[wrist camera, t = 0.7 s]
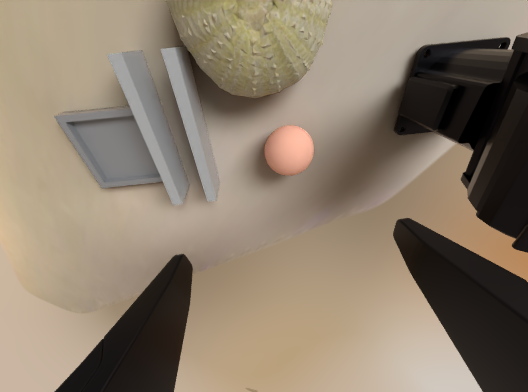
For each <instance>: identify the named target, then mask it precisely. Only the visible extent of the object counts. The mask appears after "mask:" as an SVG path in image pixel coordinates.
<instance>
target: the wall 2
mask: <svg viewBox="0 0 528 392" xmlns="http://www.w3.org/2000/svg"><path fill="white" fill-rule="evenodd" d="M161 52H162V55H163V58H164V62H165V65H166V68H167V72H168V75H169V78H170V81H171V85H172V88H173V91H174V94H175V98H176V101H177V104H178V107H179V111H180V114H181V117H182V120H183V124H184V127H185V130H186V133H187V137H188V140H189V143H190V146H191V150H192V153H193V156H194V159H195V163H196V166H197V169H198V172H199V176H200V179H201V182H202V185H203V189H204V192H205V195H206V199H207V202H208V201H217V195H218V189H219V183H220V181H219V177H218V173H217V169H216V165H215V161H214V157H213V152H212V148H211V144H210V140H209V136H208V132H207V128H206V124H205V120H204V116H203V112H202V107H201V103H200V99H199V95H198V91H197V87H196V83H195V79H194V75H193V71H192V67H191V62H190V58H189V54H188V50H187V47H186V46H184V47H174V48H165V49H161Z"/></svg>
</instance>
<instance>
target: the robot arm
mask: <svg viewBox="0 0 528 392" xmlns="http://www.w3.org/2000/svg"><path fill="white" fill-rule="evenodd" d="M500 44H501V46H500ZM509 45H510V38H492V39H482V40H472V41H461V42H451V43H441V44H431V45H425V46H423V47H421V48H420V49H419V51H418V53H417V55H416V58H415V62H414V65H413V68H412V72H411V75H410V78H409V80H408V83H407V86H406V90H405V93H404V96H403V100H402V103H401V106H400V110H399V115H398V118H397V122H396V125H395V128H394V131H395V133H397V134H398V135H406V134H415V133H425V132H435V133H437V134H439V135H441V136H443V137H445V138H447V139H449V140H451V141H453V142H455V143H457V144H460V145H462V146H464V147H466V148H468V149H470V150H472V151H473V154H472V157H471V159H470V162H469V164H468V167H467V169H466V172H464V173H463V175H462V177H461V181H462V183H463V184H464V185H465V187H466V188H467V191H468V199H469V201H470V202H471V204H472V205H473V206H474V208H475V209H476V210H477V213H476V216H477V217H478V218H479V219H481V220H482V221H483V222H485V223H486V224H488V225H489V226H491V227H493V228H494V229H496V230H498V231H500V232H502V233H504V234H505V235H508V236H510V237H513V238H515V239H516V240H515V241H514V242H513V244H512V247H513V248H514V249H516V250H520V251H524V252H528V33H524V34H521V35H518V36H516V39H515V41H514V44H513V46H512V49H513V50H507V49H508V47H509ZM499 46H500V47H499ZM426 50H427V54H426V56H425V57H424V53H425V51H426ZM401 127H403V128H402V129H401V130H400V128H401ZM393 236H394V239H395V241H396V243H397V246H398V248H399V249H400V252H401V254H402V256H403V258H404V261H405V263H406V265H407V267H408V269H409V271H410V273H411V275H412V276H413V278H414V280H415V281H416V283H417V285H418V286H419V288H420V289H421V291H422V293H423V294H424V296H425V298H426V299H427V301H428V303H429V304H430V306H431V308H432V309H433V311H434V312H435V314H436V316H437V317H438V319H439V321H440V322H441V324H442V325H443V327H444V329H445V330H446V332H447V334H448V335H449V337H450V339H451V340H452V342H453V343H454V345H455V347H456V348H457V350H458V352H459V353H460V355H461V357H462V358H463V360H464V361H465V363H466V365H467V366H468V368H469V370H470V371H471V373H472V375H473V376H474V378H475V379H476V381H477V383H478V384H479V386H480V388H481V389H482V391H483V392H528V282H527V281H526V280H524V279H523V278H521V277H519V276H517V275H515V274H513V273H511V272H509V271H508V270H506V269H504V268H502V267H500V266H498V265H496V264H494V263H493V262H491V261H489V260H487V259H485V258H483V257H481V256H479V255H478V254H476V253H474V252H472V251H470V250H468V249H466V248H464V247H462V246H460V245H459V244H457V243H455V242H453V241H451V240H449V239H448V238H446V237H444V236H442V235H440V234H438V233H436V232H434V231H432V230H431V229H429V228H427V227H425V226H423V225H421V224H419V223H418V222H416V221H414V220H412V219H410V218H404V219H399V220H397V222H396V225H395V228H394V232H393ZM192 271H193V268H192V264H191V263H190V261H189V260H188V258H187V257H186V255H184V254H179V255H175V256H174V257H173V258H172V259H171V260H170V261H169V262H168V263H167V265H166V266H165V267H164V268H163V269H162V270H161V272H160V273H159V274H158V275H157V276H156V277H155V278H154V280H153V281H152V282H151V283H150V284H149V285H148V287H147V288H146V289H145V290H144V291H143V292H142V294H141V295H140V296H139V297H138V298H137V299H136V301H135V302H134V303H133V304H132V305H131V306H130V308H129V309H128V310H127V311H126V312H125V313H124V315H123V316H122V317H121V318H120V319H119V320H118V322H117V323H116V324H115V325H114V326H113V327H112V328H111V330H110V331H109V332H108V333H107V334H106V335H105V337H104V339H102V340H101V341H100V342H99V344H98V345H97V346H96V347H95V348H94V349H93V351H92V352H91V353H90V354H89V355H88V356H87V357H86V359H85V360H84V361H83V362H82V363H81V364H80V365H79V366H78V367H77V368H76V369H75V371H74V372H73V373H72V374H71V375H70V376H69V377H68V378H67V379H66V380H65V381H64V382H63V383H62V384H61V385H60V387H59V388H58V389H57V390H56V391H55V392H174V388H175V382H176V377H177V372H178V366H179V361H180V355H181V350H182V344H183V339H184V333H185V328H186V323H187V317H188V311H189V306H190V297H191V284H192Z"/></svg>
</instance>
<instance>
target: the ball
mask: <svg viewBox="0 0 528 392" xmlns="http://www.w3.org/2000/svg"><path fill="white" fill-rule="evenodd" d="M313 155H314V145H313V141H312V139H311V137H310V136H309V134H308V133H307V132H306V131H305V130H303V129H302V128H300V127H297V126H292V125H288V126H283V127H280V128H278V129H276V130H275V131H274V132H273V133H272V134H271V135H270V136H269V138H268V139H267V142H266V145H265V158H266V161H267V163H268V164H269V166H270V167H271V168H272V169H273V170H274V171H275V172H277V173H279V174H282V175H288V176H289V175H296V174H298V173H300V172H302V171H304V170H305V169H306V168H307V167H308V166H309V164H310V163H311V161H312V158H313Z"/></svg>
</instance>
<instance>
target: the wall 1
mask: <svg viewBox="0 0 528 392" xmlns="http://www.w3.org/2000/svg"><path fill="white" fill-rule="evenodd" d="M107 56H108V58H109V60H110V62H111V65H112V67H113V69H114V72H115V74H116V76H117V78H118V81H119V83H120V85H121V87H122V90H123V92H124V94H125V97H126V99H127V101H128V103H129V106H130V108H131V110H132V113H133V115H134V117H135V119H136V122H137V124H138V126H139V128H140V131H141V133H142V135H143V138H144V140H145V142H146V144H147V147H148V149H149V151H150V153H151V156H152V158H153V160H154V163H155V165H156V167H157V169H158V172H159V174H160V176H161V179H162V181H163V183H164V185H165V188H166V190H167V192H168V194H169V197H170V199H171V201H172V204H173V205H181V204H183V201H184V199H185V196H186V193H187V191H188V188H189V182H188V180H187V177H186V174H185V171H184V168H183V165H182V162H181V160H180V157H179V154H178V151H177V148H176V145H175V143H174V140H173V137H172V134H171V131H170V128H169V126H168V123H167V120H166V117H165V114H164V111H163V109H162V106H161V103H160V100H159V97H158V94H157V91H156V89H155V86H154V83H153V80H152V77H151V74H150V72H149V69H148V66H147V63H146V60H145V57H144V55H143V52H142V51H132V52H122V53H113V54H107Z"/></svg>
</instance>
